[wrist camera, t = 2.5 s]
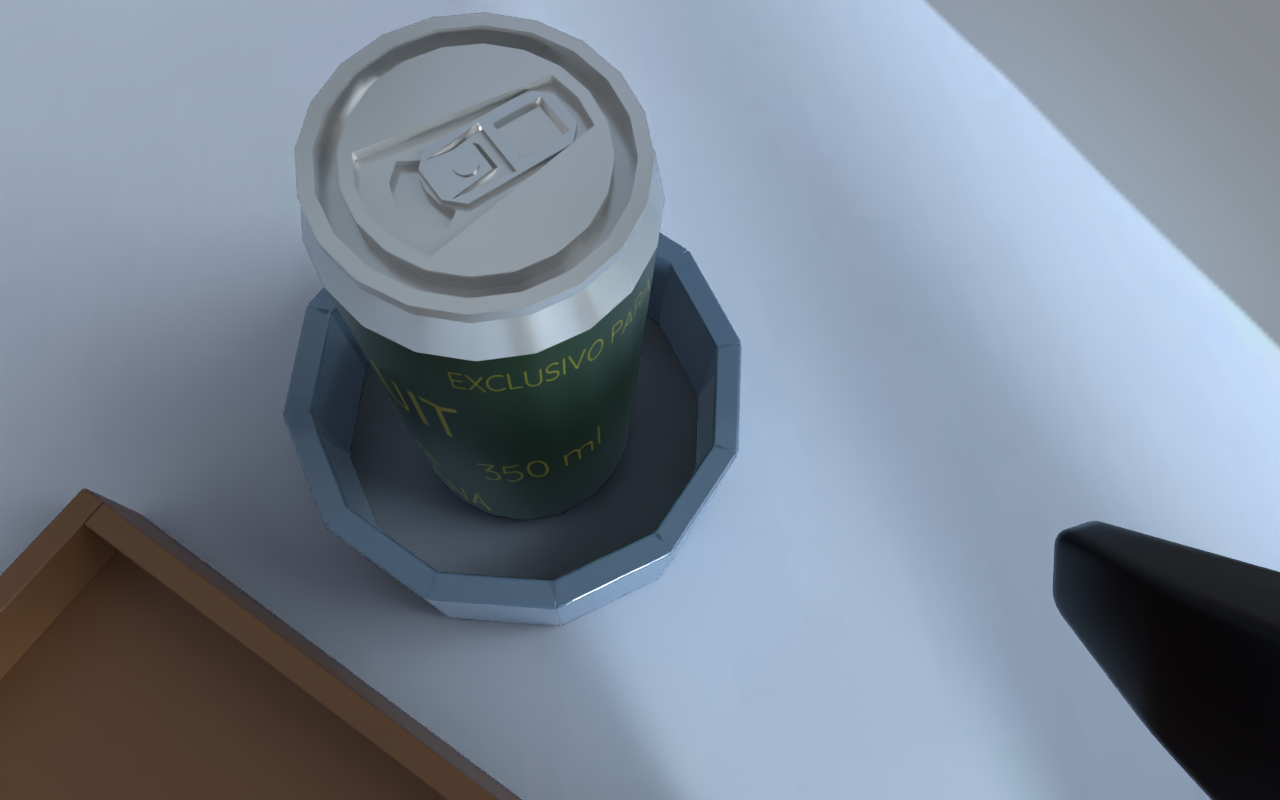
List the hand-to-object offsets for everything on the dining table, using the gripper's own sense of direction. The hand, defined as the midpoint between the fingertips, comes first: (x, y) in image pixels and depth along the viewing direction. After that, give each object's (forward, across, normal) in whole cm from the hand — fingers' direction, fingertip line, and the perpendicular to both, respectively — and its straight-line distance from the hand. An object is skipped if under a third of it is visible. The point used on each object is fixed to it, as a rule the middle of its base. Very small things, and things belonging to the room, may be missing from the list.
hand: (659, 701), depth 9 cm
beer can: (+15, 0, +4) cm, 15 cm away
